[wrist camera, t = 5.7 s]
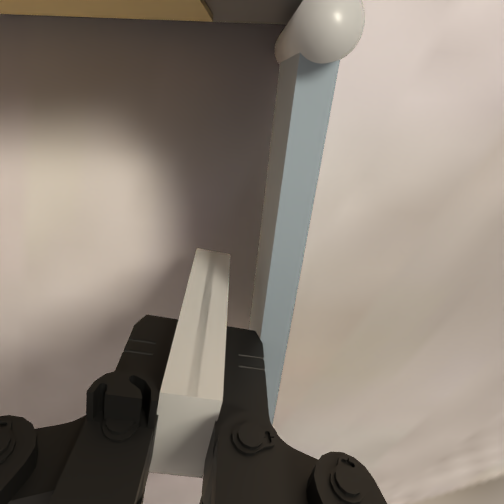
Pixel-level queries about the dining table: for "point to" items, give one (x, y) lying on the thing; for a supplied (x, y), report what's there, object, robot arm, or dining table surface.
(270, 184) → the side door
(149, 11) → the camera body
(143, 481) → the robot arm
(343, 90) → the dining table surface
